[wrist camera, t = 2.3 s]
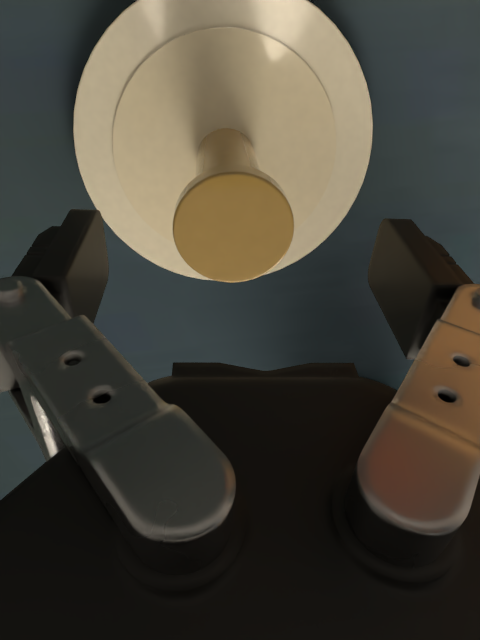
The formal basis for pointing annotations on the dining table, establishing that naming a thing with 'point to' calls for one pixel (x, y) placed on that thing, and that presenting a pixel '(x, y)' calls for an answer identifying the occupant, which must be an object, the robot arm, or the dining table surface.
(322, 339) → the dining table surface
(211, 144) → the round base post stand
